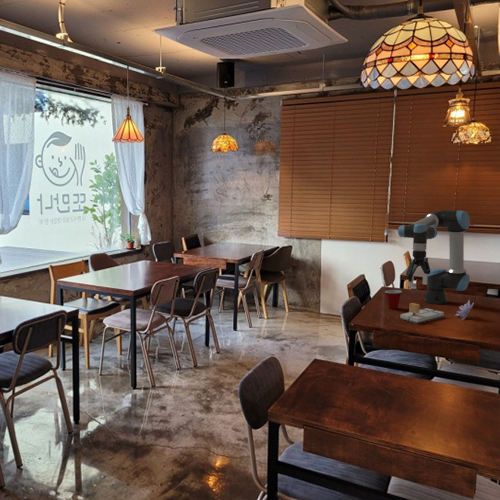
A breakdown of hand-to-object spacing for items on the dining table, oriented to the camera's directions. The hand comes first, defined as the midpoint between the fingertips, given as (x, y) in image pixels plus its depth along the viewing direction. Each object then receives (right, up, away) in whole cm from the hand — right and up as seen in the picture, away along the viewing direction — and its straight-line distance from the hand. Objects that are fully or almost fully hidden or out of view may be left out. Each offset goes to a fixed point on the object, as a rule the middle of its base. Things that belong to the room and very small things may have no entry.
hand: (417, 285), depth 271 cm
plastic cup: (-5, -18, +31) cm, 36 cm away
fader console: (+5, -21, +7) cm, 22 cm away
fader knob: (-2, -20, +2) cm, 20 cm away
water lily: (+32, -20, +9) cm, 39 cm away
